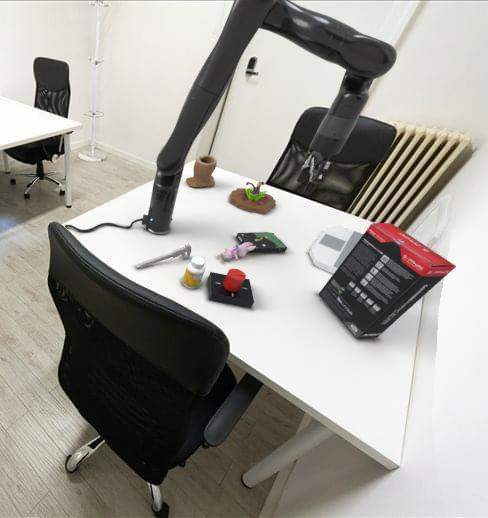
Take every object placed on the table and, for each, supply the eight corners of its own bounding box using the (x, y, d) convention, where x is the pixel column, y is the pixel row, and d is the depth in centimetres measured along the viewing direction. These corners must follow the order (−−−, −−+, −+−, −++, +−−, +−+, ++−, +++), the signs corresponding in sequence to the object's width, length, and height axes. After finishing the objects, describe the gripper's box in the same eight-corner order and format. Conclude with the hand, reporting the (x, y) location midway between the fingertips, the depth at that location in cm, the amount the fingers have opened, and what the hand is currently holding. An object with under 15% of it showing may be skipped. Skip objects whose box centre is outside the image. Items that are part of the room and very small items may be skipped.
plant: (223, 204, 135) (231, 181, 128) (235, 189, 148) (242, 168, 141) (269, 218, 127) (280, 194, 120) (277, 201, 140) (287, 179, 132)
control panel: (209, 300, 88) (212, 293, 86) (207, 278, 95) (210, 271, 93) (250, 308, 86) (254, 301, 84) (246, 285, 93) (249, 278, 91)
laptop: (327, 226, 123) (366, 166, 106) (398, 253, 110) (455, 189, 94) (302, 260, 105) (344, 193, 88) (383, 296, 92) (451, 227, 75)
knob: (223, 289, 87) (229, 277, 84) (222, 278, 91) (227, 266, 87) (240, 293, 86) (247, 280, 83) (238, 282, 90) (245, 269, 87)
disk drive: (247, 254, 106) (285, 253, 108) (250, 248, 104) (288, 247, 106) (234, 238, 114) (270, 237, 115) (237, 232, 112) (272, 231, 114)
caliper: (187, 256, 104) (191, 242, 100) (189, 258, 103) (193, 244, 99) (135, 267, 98) (138, 252, 94) (137, 269, 97) (139, 254, 93)
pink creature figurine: (225, 268, 101) (259, 253, 104) (227, 256, 97) (264, 241, 100) (213, 257, 106) (247, 243, 109) (215, 245, 102) (250, 231, 104)
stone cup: (193, 191, 144) (201, 162, 135) (182, 181, 153) (189, 152, 143) (220, 189, 147) (229, 160, 138) (208, 179, 156) (216, 151, 147)
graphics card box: (379, 340, 79) (463, 264, 61) (355, 341, 78) (433, 265, 61) (335, 294, 92) (394, 221, 74) (314, 294, 91) (369, 221, 74)
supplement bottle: (180, 277, 95) (187, 254, 89) (196, 277, 95) (203, 254, 89) (185, 289, 91) (192, 266, 85) (201, 289, 91) (210, 265, 85)
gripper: (311, 124, 85) (285, 176, 96) (325, 138, 75) (295, 195, 85) (339, 128, 84) (310, 180, 95) (358, 143, 74) (323, 200, 84)
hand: (303, 187), depth 90 cm, fingers open, 8 cm apart
